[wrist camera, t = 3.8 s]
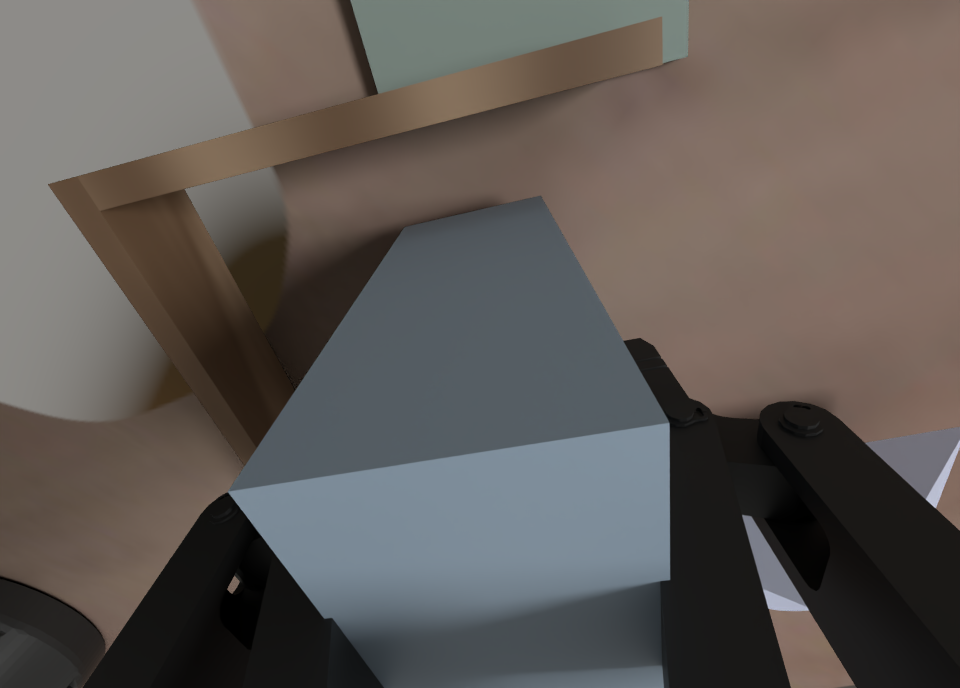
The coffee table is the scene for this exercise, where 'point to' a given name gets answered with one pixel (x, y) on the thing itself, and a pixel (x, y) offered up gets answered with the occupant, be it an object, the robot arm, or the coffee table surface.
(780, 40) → the coffee table surface
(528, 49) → the felt pad
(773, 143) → the coffee table surface
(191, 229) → the shelf bay
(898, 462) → the wedge on round base
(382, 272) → the block
